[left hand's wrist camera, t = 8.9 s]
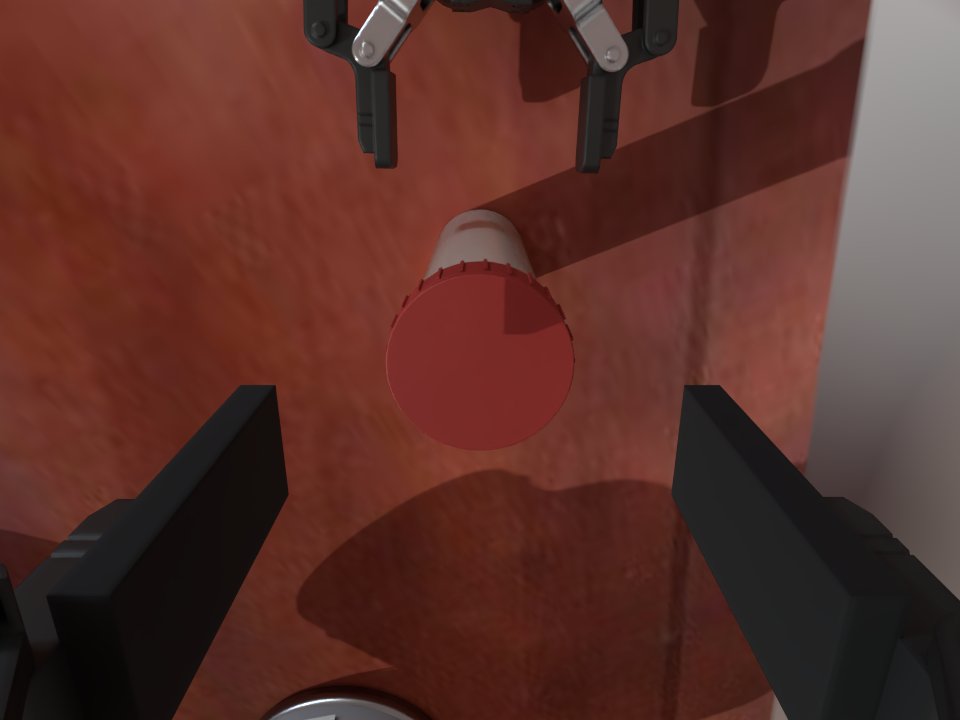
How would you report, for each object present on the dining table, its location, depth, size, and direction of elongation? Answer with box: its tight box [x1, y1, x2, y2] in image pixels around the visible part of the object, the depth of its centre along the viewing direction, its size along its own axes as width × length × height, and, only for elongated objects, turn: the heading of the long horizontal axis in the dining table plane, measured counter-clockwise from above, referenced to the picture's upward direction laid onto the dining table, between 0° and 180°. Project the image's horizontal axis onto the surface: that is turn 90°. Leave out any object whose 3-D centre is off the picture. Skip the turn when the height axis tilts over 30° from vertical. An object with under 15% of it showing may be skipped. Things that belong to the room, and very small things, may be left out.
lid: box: [385, 259, 575, 450], centre depth 19 cm, size 6×6×2 cm
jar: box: [423, 210, 537, 281], centre depth 27 cm, size 5×5×17 cm
